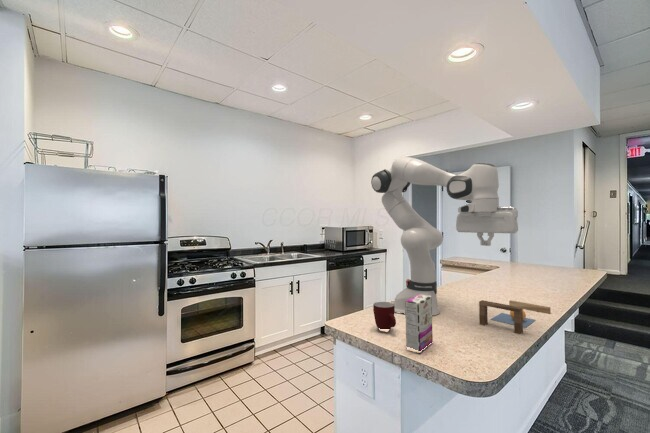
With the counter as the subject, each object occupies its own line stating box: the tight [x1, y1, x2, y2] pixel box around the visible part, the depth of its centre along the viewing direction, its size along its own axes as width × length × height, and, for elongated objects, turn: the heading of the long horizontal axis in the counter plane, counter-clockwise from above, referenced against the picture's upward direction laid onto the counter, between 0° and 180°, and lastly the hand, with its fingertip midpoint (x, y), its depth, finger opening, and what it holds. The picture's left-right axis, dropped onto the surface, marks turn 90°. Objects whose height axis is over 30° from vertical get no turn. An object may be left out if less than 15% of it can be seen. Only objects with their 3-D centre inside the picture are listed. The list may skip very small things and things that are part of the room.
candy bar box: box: [404, 294, 434, 351], centre depth 101 cm, size 11×5×16 cm, turn 139°
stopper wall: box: [508, 299, 551, 315], centre depth 141 cm, size 2×16×2 cm, turn 41°
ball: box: [509, 309, 527, 320], centre depth 125 cm, size 6×6×6 cm
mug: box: [372, 301, 397, 330], centre depth 115 cm, size 10×8×10 cm
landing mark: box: [489, 312, 536, 329], centre depth 126 cm, size 13×13×1 cm
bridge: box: [478, 299, 524, 335], centre depth 117 cm, size 3×14×9 cm, turn 41°
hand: (485, 245), depth 109 cm, fingers closed
